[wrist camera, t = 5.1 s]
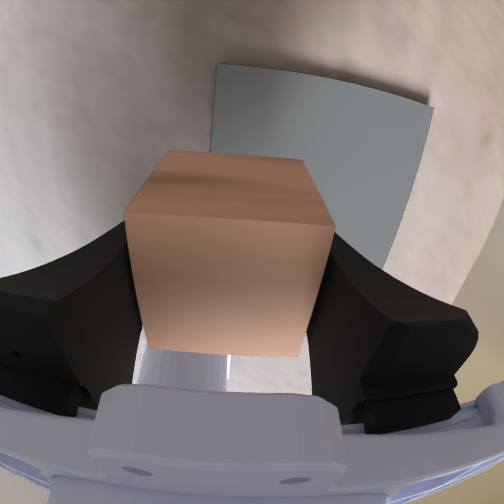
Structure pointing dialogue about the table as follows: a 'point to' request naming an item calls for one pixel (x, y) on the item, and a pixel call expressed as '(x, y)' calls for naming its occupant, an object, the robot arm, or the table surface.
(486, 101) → the table surface
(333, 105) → the slate mat
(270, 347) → the cube
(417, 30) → the table surface
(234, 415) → the robot arm
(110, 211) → the table surface
